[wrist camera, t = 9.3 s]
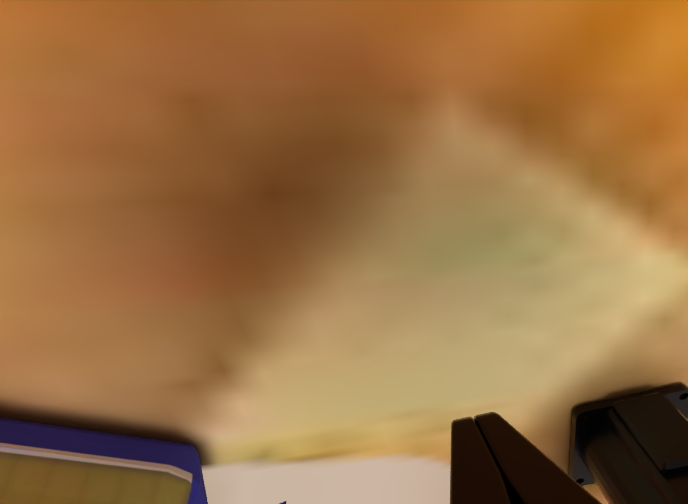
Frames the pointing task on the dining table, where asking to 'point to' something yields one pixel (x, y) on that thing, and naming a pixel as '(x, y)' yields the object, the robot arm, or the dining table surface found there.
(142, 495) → the blue and olive box
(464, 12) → the dining table surface
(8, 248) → the dining table surface
